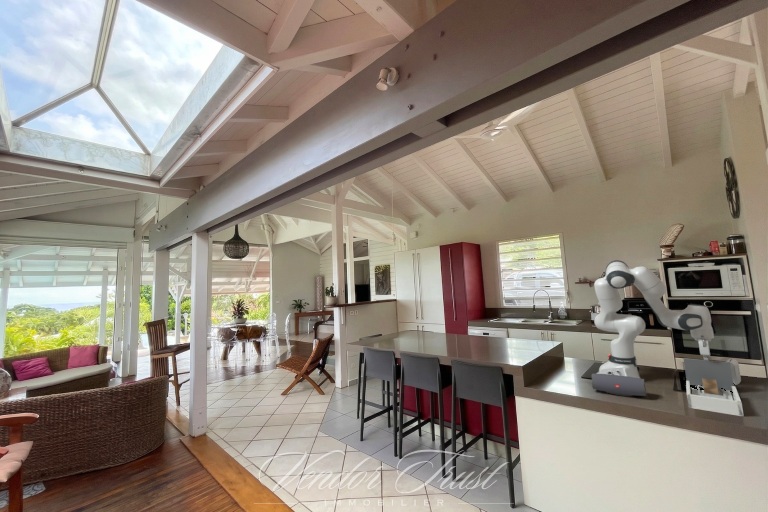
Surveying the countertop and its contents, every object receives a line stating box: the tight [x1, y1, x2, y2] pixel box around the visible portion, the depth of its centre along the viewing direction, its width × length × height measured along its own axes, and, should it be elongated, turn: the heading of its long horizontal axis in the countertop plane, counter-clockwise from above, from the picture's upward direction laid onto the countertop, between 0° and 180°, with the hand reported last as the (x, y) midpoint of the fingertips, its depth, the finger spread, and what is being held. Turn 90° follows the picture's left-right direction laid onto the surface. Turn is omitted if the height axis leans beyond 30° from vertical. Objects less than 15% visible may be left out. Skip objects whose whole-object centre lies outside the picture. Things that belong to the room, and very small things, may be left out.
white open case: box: [683, 357, 735, 400], centre depth 156 cm, size 17×23×15 cm
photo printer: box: [725, 358, 742, 386], centre depth 170 cm, size 10×4×12 cm, turn 123°
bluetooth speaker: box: [591, 373, 647, 397], centre depth 168 cm, size 23×9×10 cm, turn 50°
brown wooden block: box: [702, 378, 719, 395], centre depth 157 cm, size 5×7×6 cm
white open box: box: [685, 380, 745, 417], centre depth 149 cm, size 17×22×6 cm
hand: (706, 359), depth 168 cm, fingers closed
